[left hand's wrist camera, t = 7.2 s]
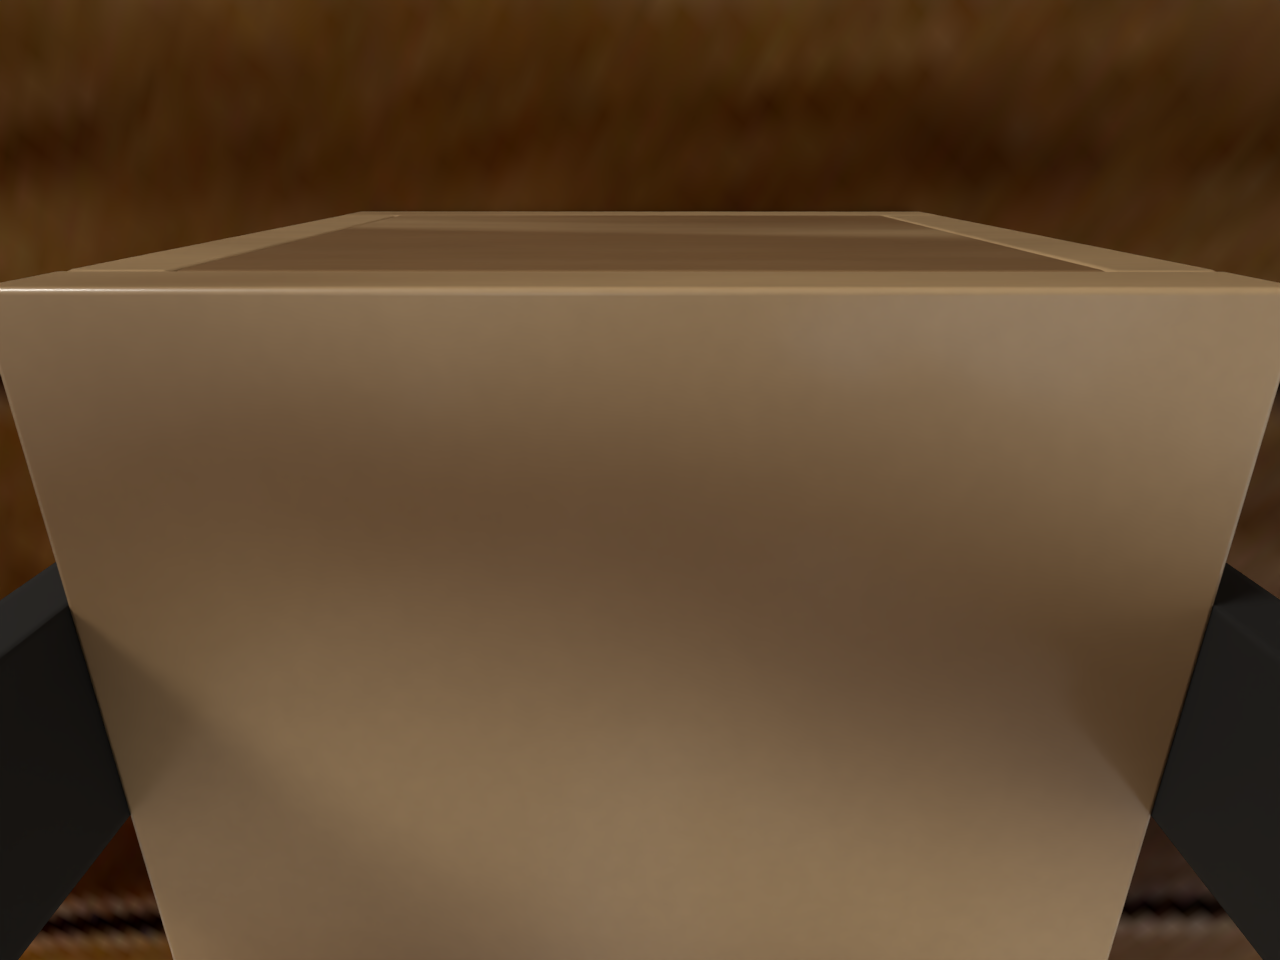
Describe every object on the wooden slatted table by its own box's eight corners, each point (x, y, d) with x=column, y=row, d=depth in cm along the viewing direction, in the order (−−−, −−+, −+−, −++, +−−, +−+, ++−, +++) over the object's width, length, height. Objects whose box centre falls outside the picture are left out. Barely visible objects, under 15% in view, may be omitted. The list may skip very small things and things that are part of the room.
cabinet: (831, 959, 25) (955, 1479, 15) (448, 958, 25) (324, 1479, 15) (922, 211, 17) (1311, 287, 7) (358, 211, 17) (-29, 287, 7)
